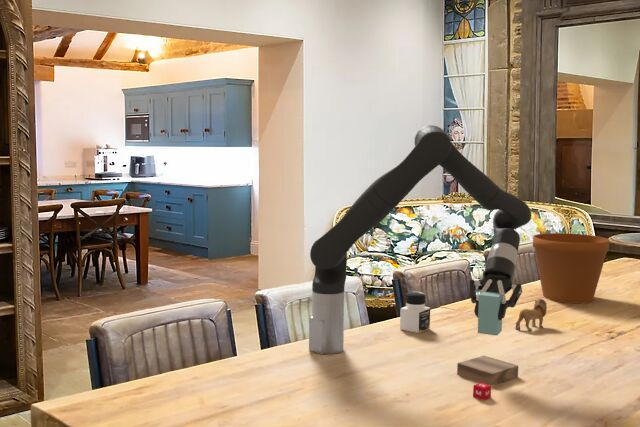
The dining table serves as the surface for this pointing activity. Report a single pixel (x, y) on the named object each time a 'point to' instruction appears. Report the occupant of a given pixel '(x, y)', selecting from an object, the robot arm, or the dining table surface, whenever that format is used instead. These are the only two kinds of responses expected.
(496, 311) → the teal pillar block
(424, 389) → the dining table surface
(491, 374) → the walnut base plate
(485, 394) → the dice
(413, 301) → the medicine bottle
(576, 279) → the flowerpot
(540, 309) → the lion figurine
